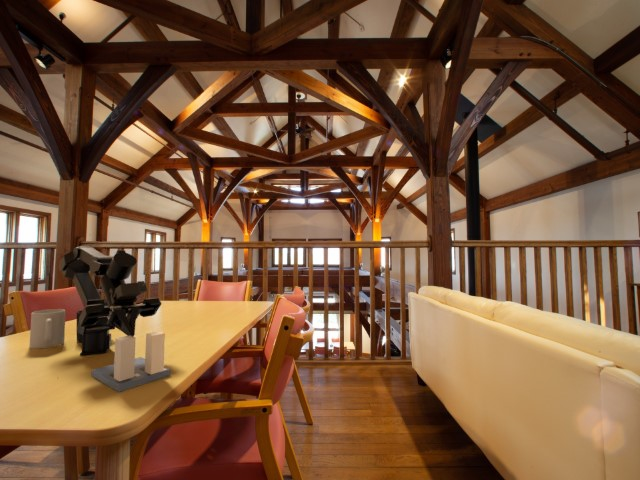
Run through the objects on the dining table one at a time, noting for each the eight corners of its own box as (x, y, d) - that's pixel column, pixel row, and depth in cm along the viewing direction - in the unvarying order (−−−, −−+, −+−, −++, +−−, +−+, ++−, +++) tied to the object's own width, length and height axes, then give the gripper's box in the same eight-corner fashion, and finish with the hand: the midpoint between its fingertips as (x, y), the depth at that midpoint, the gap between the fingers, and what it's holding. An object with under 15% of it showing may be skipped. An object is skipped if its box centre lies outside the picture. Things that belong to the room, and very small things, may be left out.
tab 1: (113, 378, 69) (115, 338, 70) (128, 374, 72) (129, 335, 72) (119, 381, 67) (121, 340, 68) (134, 377, 70) (135, 337, 70)
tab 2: (144, 371, 73) (146, 333, 74) (157, 367, 76) (158, 331, 76) (151, 374, 71) (152, 335, 72) (163, 370, 74) (164, 333, 74)
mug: (29, 344, 100) (31, 310, 100) (63, 339, 105) (65, 307, 106) (28, 353, 91) (30, 316, 91) (65, 347, 97) (67, 313, 97)
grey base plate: (91, 376, 75) (92, 369, 75) (140, 362, 84) (140, 356, 84) (118, 392, 66) (119, 384, 66) (169, 375, 76) (170, 368, 76)
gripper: (85, 273, 76) (101, 324, 70) (159, 270, 92) (178, 311, 85) (72, 301, 81) (86, 352, 74) (145, 294, 96) (162, 335, 89)
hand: (132, 336), depth 80 cm, fingers closed
